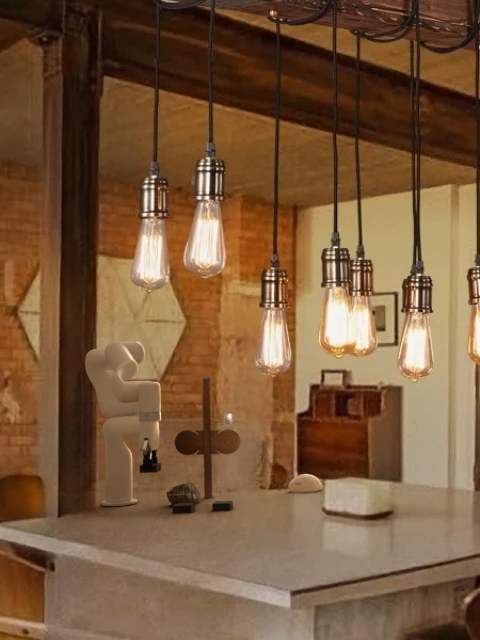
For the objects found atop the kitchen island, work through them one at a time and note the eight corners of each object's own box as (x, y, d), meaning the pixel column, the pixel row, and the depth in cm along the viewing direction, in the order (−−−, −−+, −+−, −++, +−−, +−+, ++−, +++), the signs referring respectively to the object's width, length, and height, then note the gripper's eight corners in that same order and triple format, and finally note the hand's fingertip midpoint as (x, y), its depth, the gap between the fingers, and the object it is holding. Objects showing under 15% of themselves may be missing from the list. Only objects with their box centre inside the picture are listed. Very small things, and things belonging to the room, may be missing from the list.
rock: (200, 499, 384) (181, 478, 385) (179, 518, 383) (160, 497, 383) (206, 493, 402) (188, 473, 403) (186, 511, 401) (168, 490, 402)
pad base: (176, 510, 377) (176, 503, 377) (195, 510, 377) (195, 502, 377) (172, 513, 371) (172, 506, 371) (191, 512, 370) (191, 505, 371)
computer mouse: (292, 489, 421) (292, 473, 422) (324, 489, 418) (323, 473, 418) (286, 491, 415) (286, 475, 416) (318, 491, 412) (318, 475, 412)
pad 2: (215, 508, 378) (215, 501, 379) (232, 507, 378) (232, 500, 379) (212, 511, 372) (212, 503, 373) (229, 510, 372) (229, 503, 373)
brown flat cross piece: (242, 496, 406) (239, 375, 410) (239, 498, 402) (236, 376, 407) (178, 497, 410) (176, 377, 414) (174, 498, 406) (172, 378, 411)
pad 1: (144, 470, 380) (144, 463, 380) (161, 470, 380) (161, 463, 380) (139, 473, 374) (139, 465, 374) (156, 472, 374) (156, 465, 374)
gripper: (145, 415, 387) (146, 467, 386) (132, 419, 370) (132, 473, 368) (166, 415, 387) (167, 466, 385) (154, 418, 370) (154, 472, 368)
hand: (150, 469), depth 377 cm, fingers closed on pad 1, 6 cm apart
